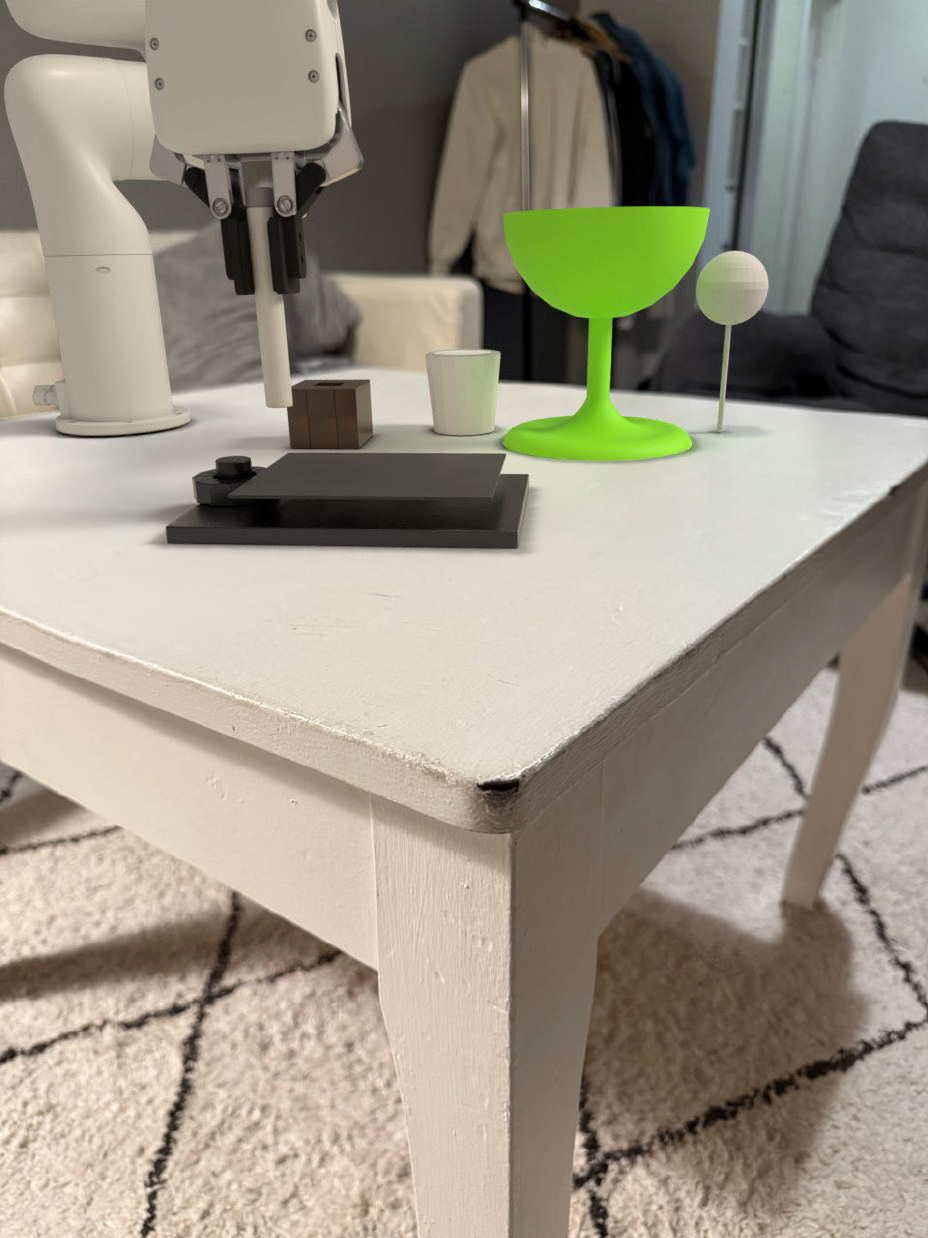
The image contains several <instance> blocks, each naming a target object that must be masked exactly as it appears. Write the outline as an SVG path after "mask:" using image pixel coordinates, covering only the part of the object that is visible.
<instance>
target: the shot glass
mask: <svg viewBox="0 0 928 1238" xmlns="http://www.w3.org/2000/svg"><path fill="white" fill-rule="evenodd" d="M424 355H425V362H426V363H425V364H426V365H425V366H426V372H427V380H428V389H429V397H430V405H431V414H432V423H433V430H434V432H435V433H437V434H440V435H445V436H446V435H447V436H475V435H477V436H478V435H484V434H489V433H493V432H494V431H495V426H496V413H497V401H498V391H499V390H498V389H499V378H500V377H499V376H500V365H501V355H502V353H501V351H497V350H494V349H488V348H487V349H486V348H451V349H440V350H434V351H429V352H426V353H425V354H424Z"/></svg>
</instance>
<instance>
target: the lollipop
mask: <svg viewBox="0 0 928 1238" xmlns="http://www.w3.org/2000/svg"><path fill="white" fill-rule="evenodd" d="M695 286H696V287H695V297H696V301H697V304H698V307H699V310H700V311H701V312H702V313H703V315H704V316H706V318H707V319H709V320H710V321H712V322H714V323H716V324H719V325H723V326H724V325H725V331H724V340H723V341H724V343H723V353H722V365H721V367H722V368H721V378H720V391H719V402H718V411H717V413H718V414H717V425H716V433H723V427H724V414H725V405H726V404H725V403H726V391H727V382H728V381H727V380H728V369H729V358H730V347H731V346H730V345H731V333H732V326H734V325H735V326H736V325H738V324H742V323H744V322H746V321H748V320H750V319H751V318H752V317H754V316H755V315H756V314H757V313H758V311H760V310H761V308H763V307H762V306H763V305H764V303H765V302H766V299H767V297H768V292H769V277H768V272H767V271H766V268H765V266H764V264H763V263H762V262H761V261H760V260H759V259H758V258H757V257H755V255H753V254H751V253H748V252H745V251H743V250H729V251H725V252H722V253H719V254H718V255H716V256H714V257H713V258H712V259H711V260H709V261H708V262H707V263H706V264H705V265H704V267H703V268H702V269H701V272H700V274H699V276H698V278H697V281H696V285H695Z"/></svg>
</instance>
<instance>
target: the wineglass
mask: <svg viewBox="0 0 928 1238" xmlns="http://www.w3.org/2000/svg"><path fill="white" fill-rule="evenodd" d="M710 212H711V208H709V207H702V206H674V205H673V206H669V205H667V206H665V205H663V206H662V205H661V206H660V205H659V206H658V205H657V206H656V205H655V206H651V205H649V206H648V205H647V206H644V205H643V206H640V205H639V206H598V207H597V206H595V207H594V206H593V207H566V208H546V209H530V210H518V211H517V210H516V211H509V212H503V213H502V214H501V215H502V221H503V222H502V223H503V230H504V238H505V244H506V247H507V250H508V252H509V255H510V256H511V257H510V258H511V260H512V262H513V265H514V267H515V269H516V271H517V272H518V274H519V275H520V276H521V278H522V279H523V280H524V282H525V283H526V285H527V286H528V288H529V289H530V290H531V291H532V292H533V293H534V294H535V295H537V296H538V297H539V298H541V299H542V300H543V301H544V302H546V303H547V304H548V305H549V306H551V307H552V308H554V309H556V310H559V311H562V312H564V313H566V314H568V315H571V316H573V317H577V318H583V319H584V318H585V319H588V339H587V341H588V342H587V343H588V344H587V368H586V369H587V370H586V371H587V372H586V373H587V374H586V378H587V379H586V397H585V399H584V401H583V403H582V404H581V406H580V408H579V409H578V410H577V411H576V412H575V413H574V414H573V415H564V416H563V415H562V416H553V417H545V418H539V419H533V420H528V421H525V422H522V423H519V424H517V425H516V426H514V427H512V428H511V429H509V430H508V431H507V433H506V434H505V436H504V439H503V442H502V446H504V447H505V448H506V449H507V450H508V451H514V452H516V453H518V454H519V453H520V454H524V455H528V456H533V457H539V458H547V459H554V460H564V461H565V460H566V461H585V462H617V461H635V460H645V459H655V458H662V457H667V456H672V455H676V454H680V453H683V452H686V451H687V452H688V451H689V450H690V449H691V448H692V446H693V441H692V439H691V437H690V435H689V434H688V433H687V431H686V430H685V429H684V428H682V427H680V426H678V425H676V424H674V423H671V422H667V421H663V420H660V419H653V418H646V417H640V416H627V415H621V414H620V412H618V410H617V409H616V407H615V406H614V404H613V402H612V399H611V398H610V392H611V391H610V389H611V367H612V366H611V365H612V339H613V319H614V318H623V317H627V316H629V315H632V314H634V313H637V312H640V311H641V310H644V309H646V308H648V307H651V306H653V305H654V304H655V303H657V302H658V301H660V299H662V298H663V297H665V295H667V294H669V292H671V291H672V290H674V289H675V287H676V286H677V285H678V283H679V282H680V281H681V280H682V279H683V278H684V276H685V275H686V274H687V272H688V271H689V270H690V269H691V267H692V266H693V264H694V263H695V260H696V258H697V256H698V254H699V251H700V249H701V247H702V245H703V243H704V241H705V238H706V233H707V229H708V228H707V227H708V222H709V218H710Z"/></svg>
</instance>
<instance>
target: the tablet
mask: <svg viewBox="0 0 928 1238" xmlns="http://www.w3.org/2000/svg"><path fill="white" fill-rule="evenodd" d="M266 468H267V467H266V466H265V467H264V466H259V465H257V466H256V465H252V472H253V477H254V476H256V475H257V474H258V473H260V472H261V471H263V470H264V469H266ZM253 477H249V478H245V479H237V480H218V479H217V473H216V468H212V469H209V470H205V471H200V472H199V473H197V474H195V475H194V476H192V477H191V483H192V488H193V496H194V497H193V498H194V500H195V502H197V505H195V506H194V507H193V508H191V509H190V510H188V511H187V512H185V513H184V514H182V515H181V516H179V517H178V518H176V519H175V520H174V521H172V522H171V523H169V524H168V525H166V526H165V533H166V534H165V535H166V542H167V544H171V545H172V544H174V545H175V544H177V545H179V544H180V545H181V544H182V545H236V546H237V545H238V546H239V545H240V546H241V545H243V546H244V545H245V546H309V547H311V546H313V547H314V546H315V547H373V548H374V547H377V548H379V547H380V548H383V547H384V548H439V549H441V548H445V549H451V548H452V549H456V548H457V549H458V548H459V549H509V550H511V549H513V550H515V549H518V548H519V543H520V539H521V533H522V527H523V523H524V517H525V511H526V506H527V501H528V496H529V490H530V474H529V473H500V476H499V479H498V482H497V485H496V488H495V491H494V495H493V498H492V501H450V500H342V499H233V498H228V496H227V495H228V494H230V493H231V492H233V491H234V490H236V489H237V488H238V487H240V486H241V485H243V484H244V483H246V482H247V481H248V480H250V479H251V478H253Z"/></svg>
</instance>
